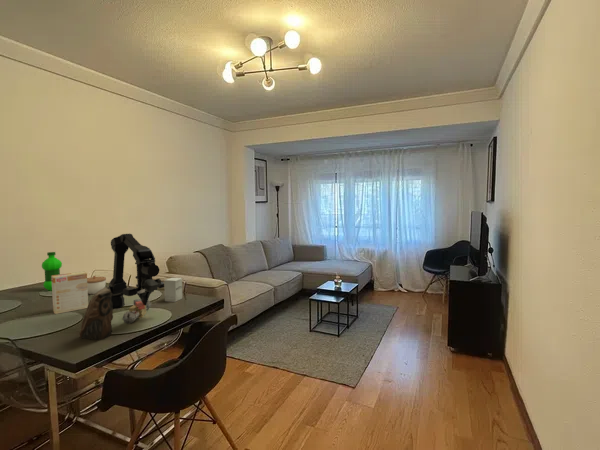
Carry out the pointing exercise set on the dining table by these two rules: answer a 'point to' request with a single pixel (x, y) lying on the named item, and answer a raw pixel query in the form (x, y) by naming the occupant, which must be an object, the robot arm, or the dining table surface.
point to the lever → (139, 304)
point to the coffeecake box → (69, 292)
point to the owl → (98, 316)
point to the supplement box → (173, 289)
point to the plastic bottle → (51, 269)
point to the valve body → (135, 313)
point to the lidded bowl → (95, 284)
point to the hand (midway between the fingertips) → (145, 305)
